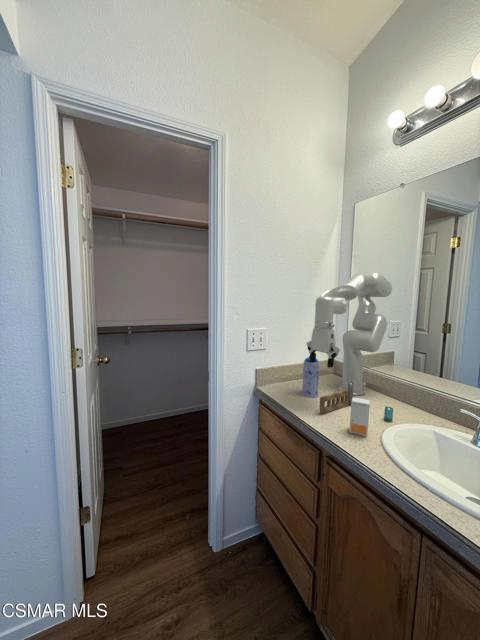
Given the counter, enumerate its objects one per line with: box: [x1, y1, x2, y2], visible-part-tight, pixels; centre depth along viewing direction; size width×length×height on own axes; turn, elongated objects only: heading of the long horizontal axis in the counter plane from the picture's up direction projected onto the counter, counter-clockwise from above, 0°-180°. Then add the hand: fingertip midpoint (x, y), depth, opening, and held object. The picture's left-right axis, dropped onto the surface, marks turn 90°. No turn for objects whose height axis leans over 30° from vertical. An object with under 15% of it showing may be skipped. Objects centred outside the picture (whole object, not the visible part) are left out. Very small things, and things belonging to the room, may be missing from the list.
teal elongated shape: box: [347, 383, 394, 423], centre depth 116 cm, size 3×20×10 cm, turn 33°
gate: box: [319, 389, 350, 415], centre depth 118 cm, size 18×1×7 cm, turn 123°
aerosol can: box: [301, 354, 320, 399], centre depth 135 cm, size 8×8×20 cm
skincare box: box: [348, 397, 371, 437], centre depth 99 cm, size 6×4×12 cm
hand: (321, 364), depth 120 cm, fingers open, 9 cm apart
